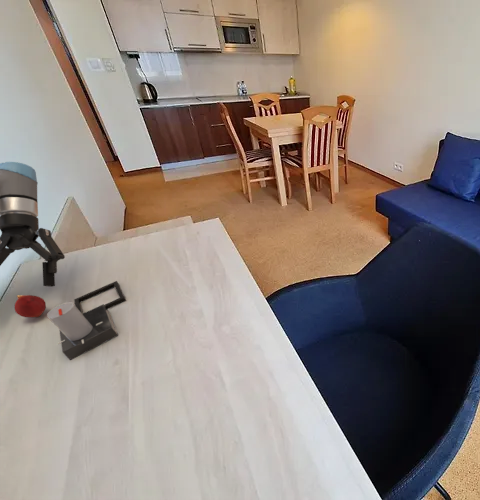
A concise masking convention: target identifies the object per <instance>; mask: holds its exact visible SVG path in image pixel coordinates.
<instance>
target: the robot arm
mask: <svg viewBox="0 0 480 500" xmlns="http://www.w3.org/2000/svg"><path fill="white" fill-rule="evenodd" d="M38 201H39V200H38V180H37V172H36V170H35V169H34V168H33V167H32V166H30V165H28V164H25V163H23V162H19V161H18V162H17V161H5V162H0V232H1V235H0V267H1V266H2V264H4V262H6V260H7V258H9V256H10V255H11V254H13V253H15V252H16V251H21V250H24V249H27V250H28V249H31V250H32V251H34V252H35V253H36V254H38V256H40V257H41V258H42V259H43V260H44V261H43V262H42V265H41V266H42V285H43V287H55V286H56V280H55V279H56V278H55V276H56V275H55V274H57V272H58V262H59V261H60V260H64V259H65V258H66V256H65V254H64V252H63V251H62V250H61V249H60V247H59V245H58V244H57V243H56V241H55V240H54V238H53V237H52V232H51V230H49V229H47V228H43V227H40V226H39V225H40V224H39V223H40V222H39V218H38V217H39V207H38V204H39V203H38ZM38 238H39V239H40V240H41V241H42V243H43V244H44V246H45V247H46V248H45V247H44V246H43V245H42V243H40V242H39V241H37V240H38Z"/></svg>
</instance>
